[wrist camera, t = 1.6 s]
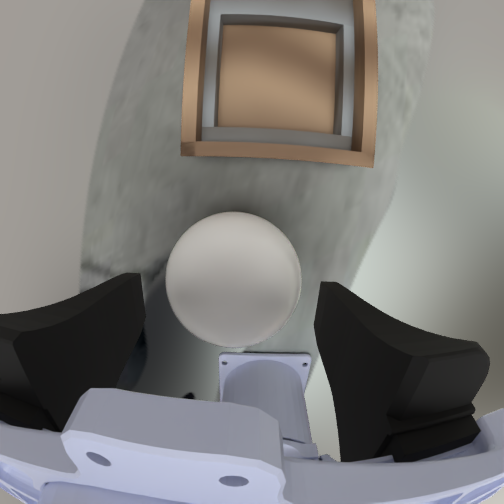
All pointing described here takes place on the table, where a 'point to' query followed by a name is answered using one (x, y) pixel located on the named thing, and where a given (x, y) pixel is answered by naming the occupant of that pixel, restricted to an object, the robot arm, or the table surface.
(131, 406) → the robot arm
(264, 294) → the lightbulb
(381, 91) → the table surface
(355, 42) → the socket box
